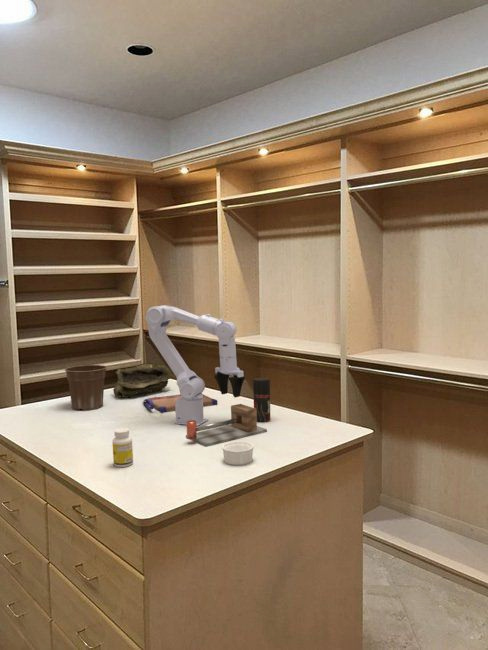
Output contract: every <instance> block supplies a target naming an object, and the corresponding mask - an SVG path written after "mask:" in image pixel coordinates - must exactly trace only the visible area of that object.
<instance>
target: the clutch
mask: <svg viewBox="0 0 488 650" xmlns="http://www.w3.org/2000/svg"><path fill="white" fill-rule="evenodd" d="M202 395H203V408H204V407H212V406H216V405H217V404H218V402H219V401H218V399H215V398H212V397H210V396H207V395H205V394H204V393H202ZM179 397H182V396H181V394H179V393H178V394H172V395H163V396H155V397H148V398H146V399H144V400H143V401H142V404H144V406H145V407H146V409H148V410H152V409H156V410H158V411H159V412H160V413H162V414H166V413H171V412H176V409H175V405H176V401H177V399H178V398H179Z"/></svg>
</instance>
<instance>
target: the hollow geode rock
mask: <svg viewBox="0 0 488 650" xmlns="http://www.w3.org/2000/svg"><path fill="white" fill-rule="evenodd" d="M170 372H172V370H171V368H170V367H169V366H167V364H165V363H153V362H146V363H144V362H143V363H140V364H139V365H136V366H131V367H130V366H129V367H126V368H122V367H119V368H118V369H117V370H116V371H115V375H117V382H116V384H115V386H114V387H113V389H112V390H113V394H114V396H115V397H117V398H130V397H132V396H133V395H135V394H137V393H140V394H146V393H147V394H148V393H151V392H160V391H161V390H163V389H165V388H166V387H167V386H168V384H169V380H170V379H171V378H172V377H173V376H171V375H170Z"/></svg>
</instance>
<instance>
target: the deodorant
mask: <svg viewBox="0 0 488 650" xmlns="http://www.w3.org/2000/svg"><path fill="white" fill-rule="evenodd" d="M252 381H253V382H252V384H253V386H252V387H253V390H252V391H253V394H252V395H253V408H256V409H257V423H268V422H270V421H271V419H272V418H271V380H270V377H254V378H253V379H252Z"/></svg>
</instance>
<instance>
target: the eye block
mask: <svg viewBox="0 0 488 650" xmlns="http://www.w3.org/2000/svg"><path fill="white" fill-rule="evenodd" d="M230 416H231V417H230V420H231V419H235V420H236V423H233V424H228V425H224V426H219V427H215V428H210V429H206V430H201V431H197V432H196V433H197V438H196V439H189V440H191V442H192V441H193V442H194V443H196V444H199V445H201V446H203V447H209V446H210V447H211V446H214V445H218V444H222V443H223V444H224V443H228V442H232V441H236V440H238V439H242V438H247V437H251V436H256V435H260V434H263V433H268V429H267V428H264V427H261V426H258V422H257V409H256V408H254V407H251V406H249V405H246V404H242V403H237V404H233V405H230ZM185 438H186V439H187V434H186V435H185Z"/></svg>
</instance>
